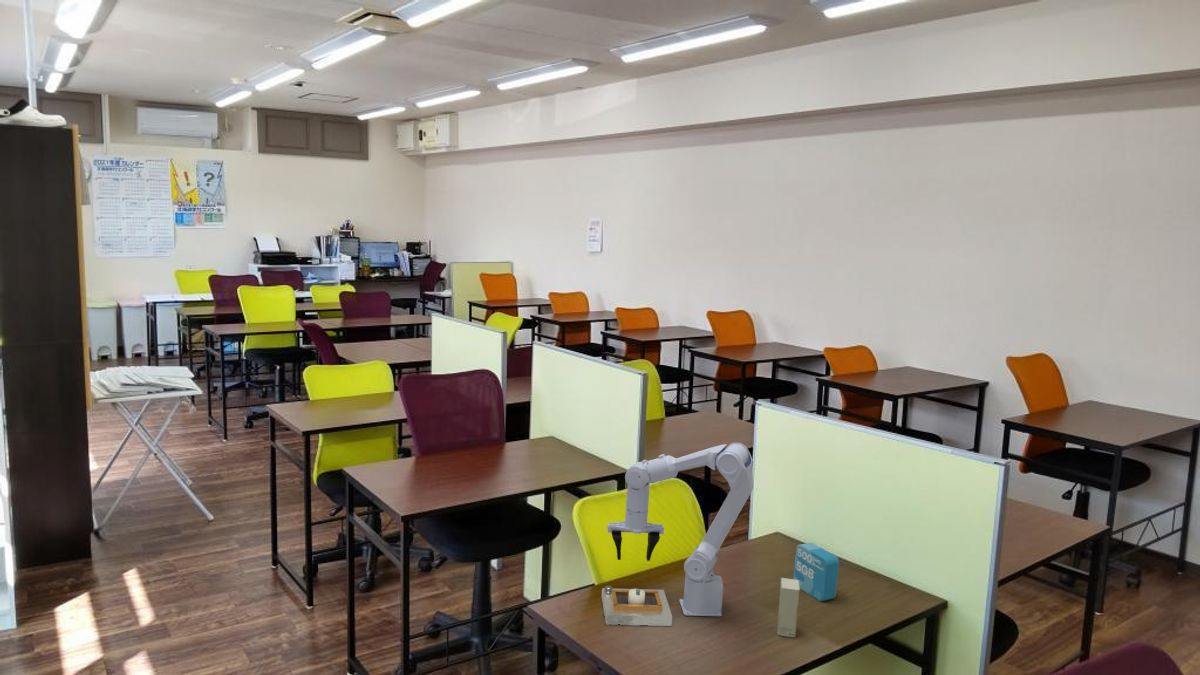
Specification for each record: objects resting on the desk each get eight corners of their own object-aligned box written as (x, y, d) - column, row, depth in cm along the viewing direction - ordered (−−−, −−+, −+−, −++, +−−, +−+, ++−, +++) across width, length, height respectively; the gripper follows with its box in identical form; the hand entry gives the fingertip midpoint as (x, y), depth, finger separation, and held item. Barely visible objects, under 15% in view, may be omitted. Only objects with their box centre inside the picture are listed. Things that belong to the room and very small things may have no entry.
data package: (792, 584, 223) (796, 542, 221) (804, 581, 225) (809, 540, 223) (822, 603, 212) (827, 560, 210) (835, 600, 214) (840, 557, 212)
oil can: (641, 607, 204) (643, 583, 203) (645, 614, 200) (646, 591, 199) (626, 607, 203) (627, 584, 202) (629, 615, 199) (631, 591, 198)
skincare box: (795, 638, 193) (800, 590, 191) (776, 635, 194) (781, 588, 192) (794, 625, 199) (799, 579, 198) (776, 623, 200) (780, 576, 198)
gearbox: (663, 598, 209) (664, 586, 209) (671, 626, 196) (672, 612, 195) (601, 597, 208) (602, 584, 208) (605, 624, 194) (606, 611, 194)
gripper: (610, 513, 204) (606, 564, 206) (667, 515, 205) (663, 566, 207) (608, 503, 211) (604, 553, 213) (663, 505, 212) (659, 554, 214)
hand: (633, 558), depth 210 cm, fingers open, 7 cm apart
